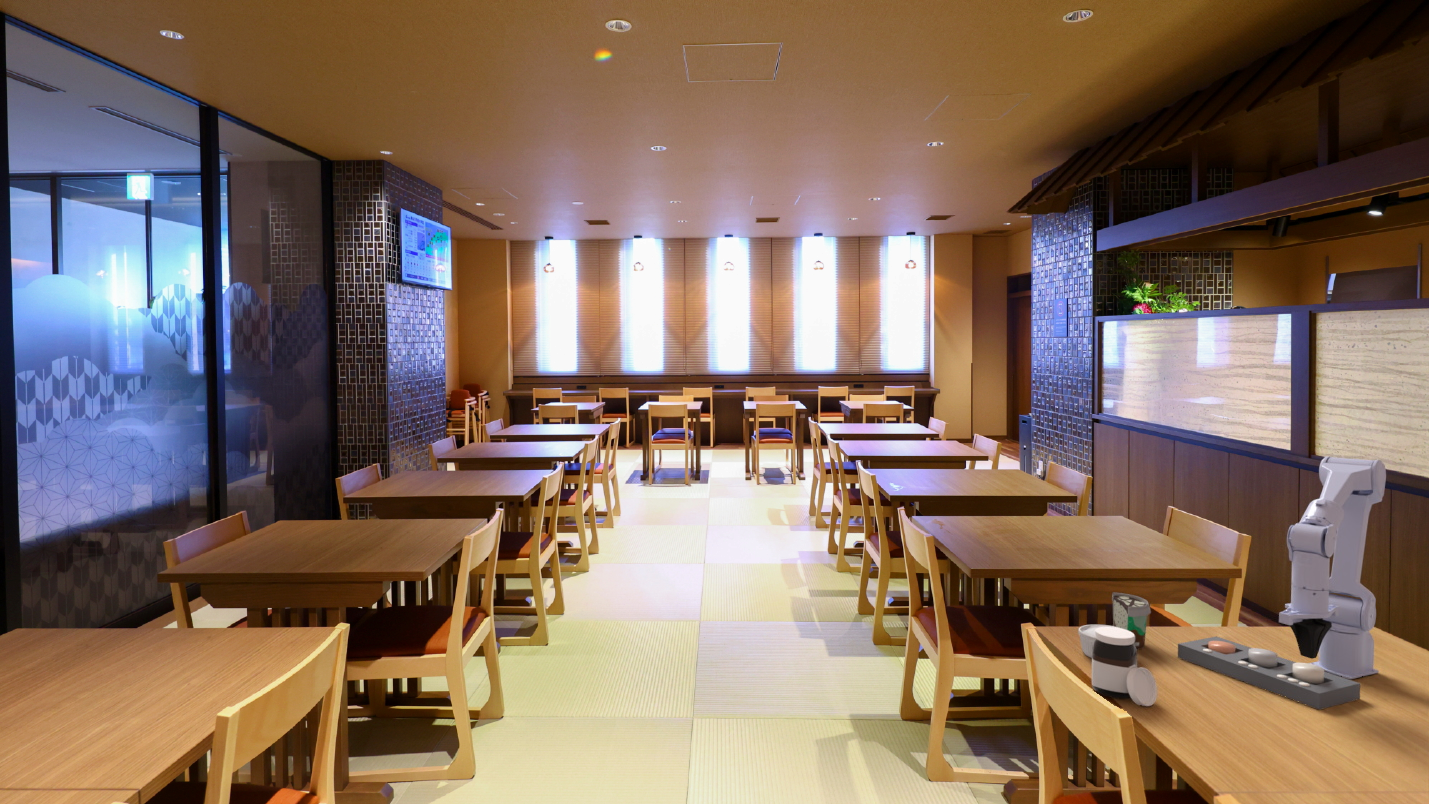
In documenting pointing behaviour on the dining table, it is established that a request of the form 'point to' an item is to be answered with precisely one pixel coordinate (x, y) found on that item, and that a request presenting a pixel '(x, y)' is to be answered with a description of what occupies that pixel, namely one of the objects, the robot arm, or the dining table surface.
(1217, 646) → the button one
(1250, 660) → the button two
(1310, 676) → the button three
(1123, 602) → the food container
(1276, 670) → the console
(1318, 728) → the dining table surface
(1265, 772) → the dining table surface
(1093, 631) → the ramekin
